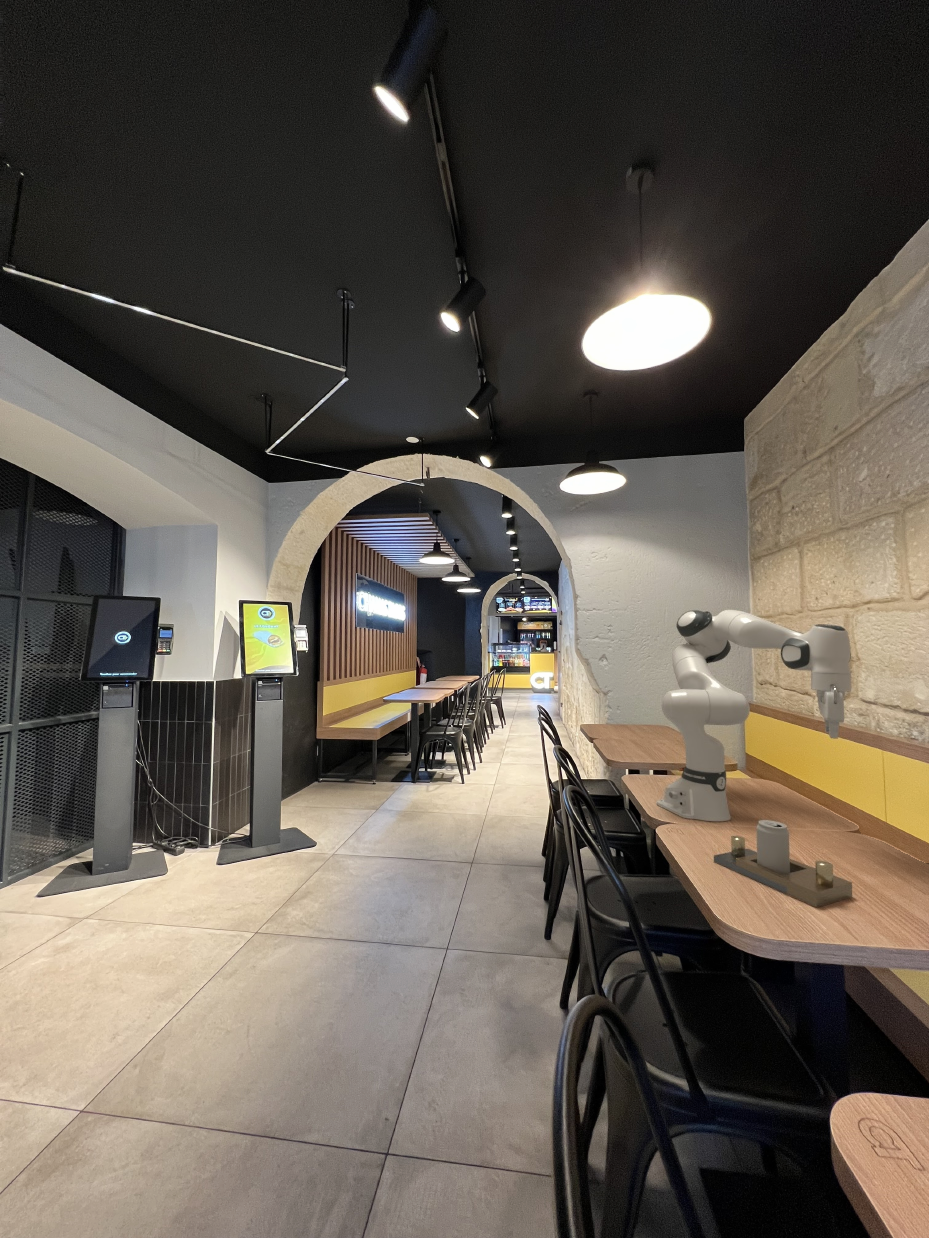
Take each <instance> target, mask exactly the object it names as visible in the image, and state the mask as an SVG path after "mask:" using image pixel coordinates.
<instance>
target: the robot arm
mask: <svg viewBox="0 0 929 1238" xmlns="http://www.w3.org/2000/svg"><path fill="white" fill-rule="evenodd" d="M675 626H676V628H677V632H678V634H680V636H681V637H683V638H684V640H685V641H686V643H683V644H680V645H677V646H676V648H675V649H673V651H672V657H671V660H672V661H671V662H672V667H673V668H672V669H673V673H674V675H675V679H676V682H677V685H678V687H679V689H673V690H669V691H667V692H666V693H665V694H664V696H663V697H662V700H661V709H662V713H663V716H664V717H665V718H666V719H667V720H668V721H669V722H670V723H672V724H673V725H674V726H675V727H676V728H677V729H678V731H679V732H680V734H681V736H682V739H683V742H684V747H685V766H684V767H679V768H678V769H679V770H678V771H679V772H682V773H681V775H680V777H679V778H678V779H676V780H674V781H673V782H672V783H670V784H668V785H667V786H666V787H665V790H664V794H663V795H664V798H661V799H658V800H656V805H657V806H659V807H661V808H662V809H665V810H666V811H669V812H671V813H673V814H676V815H677V816H678V817H679V816H680V817H681V818H683V819H691V820H698V821H707V822H725V821H730V820H731V818H732V816H731V814H730V810H729V806H728V799H727V791H726V786H727V771H726V769H725V766H726V765H725V763H726V762H725V761H726V760H725V747H724V745H723V743H722V742H721V741H720V740H718V739H717V738H716V737H714V736H713V735H710V734H707V733H706V731H705V726H706V725H709V726H710V725H711V726H733V725H739V724H743V723H745V722H746V721H747V719H748V717H749V715H750V711H751V709H750V703H749V700H748V699H747V697H746V696H745V695H744V694H743V693H740V692H738V691H735V690H733V689H730V688H729V687H727V686H725V685H724V684H723V683H721V682H720V681H719V680H718V679H716V677H715V676H714V675H713V673H712V672H711V669H710V667H709V665H708V664H711V663H716V662H719V661H721V660H723V659H724V658H726V657H727V656H728V655H729V653H730V652H731V643H733V644H735V645H738V646H740V647H744V648H747V649H748V648H749V649H757V650H758V649H762V650H766V649H767V650H768V649H770V650H775V649H776V650H778V649H779V650H780V658H781V661H782V663H783V664H784V665H785V667H787V668H788V669H791V670H793V671H794V670H795V671H808V672H809V671H810V689H811V690H812V691H816V698H817V705H818V710H819V713H820V715H821V716H822V717H823V720H824V726H825V727H824V728H825V730H824V731H825V733H826V735H827V734H828V735H829V738H830V739H839V729H840V724H841V723H844V721H845V702H844V698H846V692H852V674H851V673H852V672H851V669H850V662H851V658H852V653H851V643H850V642H851V641H850V636H849V633H848V631H847V628H845V627H843V626H840V625H835V624H825V623H823V624H820V623H819V624H818V623H817V624H814V625H812V626H811V628H810V629H809V630H808V631H806V632H805V633H803V632H800V631H798V630H793V629H790V628H788V627H784V626H783V625H780V624H777V623H775V622H772V621H769V620H767V619H765V618H763V617H759V616H757V615H755V614H752V613H749V612H746V611H742V610H738V609H737V610H736V609H725V610H722V611H721V612H719V613H718V614H717V615H715V616H714V615H712V613H711V612H710V611H708V610H707V611H702V610H697V609H696V610H694V609H693V610H688V611H685V612H684V613H682V614H681V615H680V617H678V619H677V622H676V625H675ZM730 642H731V643H730Z"/></svg>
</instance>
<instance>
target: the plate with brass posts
mask: <svg viewBox="0 0 929 1238" xmlns="http://www.w3.org/2000/svg"><path fill="white" fill-rule="evenodd" d="M730 846H731V847H730V848H731V849H730V851H729V852H725V853H719V854H714V855H713V863H715V864H718V865H720V866H722V867H725V868H727V869H728V870H732V871H733V872H736V873H738V874H740V875H743V876H745V877H747V878H748V879H749V878H750V880H754V881H756V882H759V883H760V884H763V885H765V886H766V887H769V888H772V889H774V890H776V891H779V892H781V893H783V894H785V895H787V896H789V897H792V898H794V899H796V900H798V901H801V902H803V903H805V904H807V905H809V906H812V907H814V908H816V909H817V908H822V907H824V906H828V905H831V904H835V903H837V902H841V901H844V900H847V899H851V898H853V882H851V881H850V880H848V879H845V878H841V877H839V876H836V875H835V874H834V865H833V864H832V863H831V862H829V861H826V860H825V861H824V860H815V863H814V865H815V867H812V866H811V865H807V864H805V863H802V862H799V861H797V860H794V859H792V858H790V873H788V874H781V873H779V872H776V871H774V870H772V869H769V868H767V867H764V866H762V865H760V864H757V851H754V850H752V849H749V848H746V838H745V837H743V836H738V835H732V836H731V838H730Z"/></svg>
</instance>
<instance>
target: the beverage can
mask: <svg viewBox="0 0 929 1238" xmlns="http://www.w3.org/2000/svg"><path fill="white" fill-rule="evenodd" d="M756 852H757V864H760V865H762V866H764V867H767V868H769V869H772V870H774V871H776V872H779V873H781V874H788V873H790V859H791V858H790V857H791V855H790V831H789V830H788V825H786V824H785V823H783V822H779V821H776V820H770V819H762V820H758V824H757V825H756Z"/></svg>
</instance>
